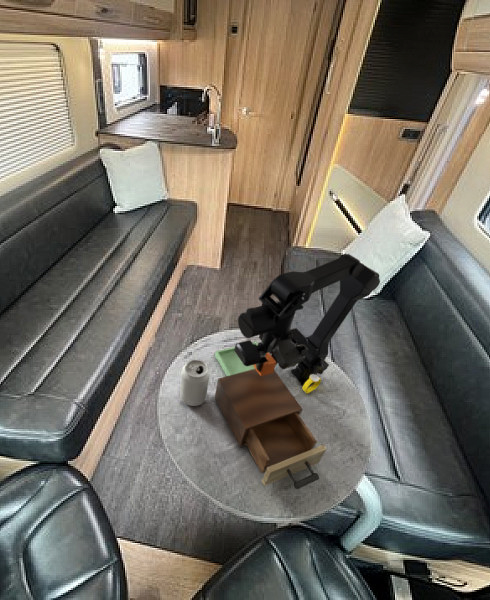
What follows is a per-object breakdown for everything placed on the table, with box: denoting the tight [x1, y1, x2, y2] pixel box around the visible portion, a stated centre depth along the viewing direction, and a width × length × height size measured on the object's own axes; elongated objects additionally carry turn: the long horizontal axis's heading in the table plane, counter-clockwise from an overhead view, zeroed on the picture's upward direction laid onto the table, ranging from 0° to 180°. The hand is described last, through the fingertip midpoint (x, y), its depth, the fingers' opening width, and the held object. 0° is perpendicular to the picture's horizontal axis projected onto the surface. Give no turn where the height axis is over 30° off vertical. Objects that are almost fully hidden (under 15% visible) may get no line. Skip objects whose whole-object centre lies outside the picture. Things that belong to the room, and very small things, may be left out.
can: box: [179, 358, 211, 407], centre depth 87 cm, size 8×8×12 cm
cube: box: [253, 353, 277, 376], centre depth 86 cm, size 4×4×4 cm
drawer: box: [244, 413, 327, 490], centre depth 77 cm, size 19×15×6 cm
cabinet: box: [214, 369, 303, 448], centre depth 86 cm, size 16×17×8 cm
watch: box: [302, 374, 322, 394], centre depth 95 cm, size 6×3×6 cm, turn 120°
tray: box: [214, 341, 258, 376], centre depth 102 cm, size 15×11×2 cm
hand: (265, 368), depth 86 cm, fingers closed on cube, 4 cm apart
